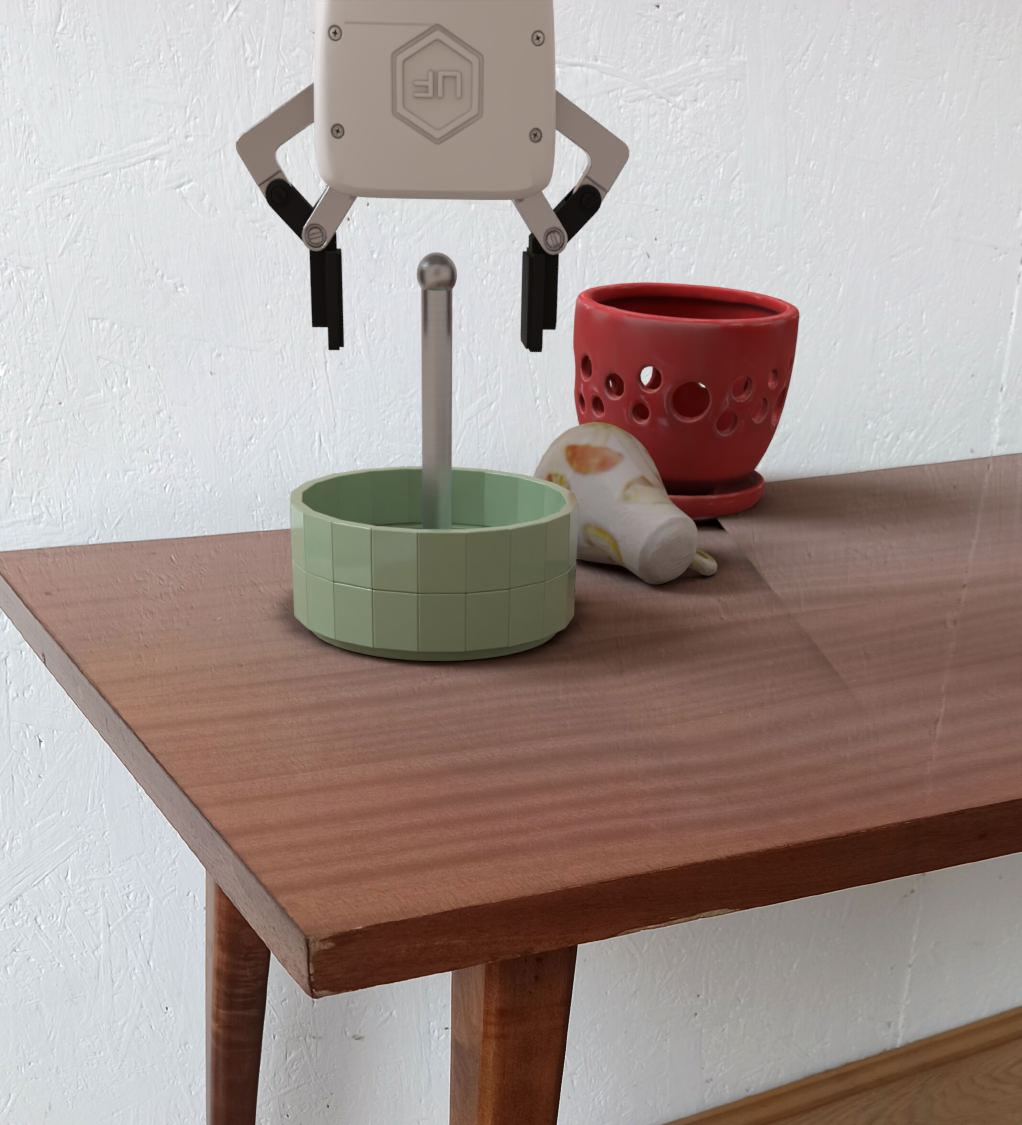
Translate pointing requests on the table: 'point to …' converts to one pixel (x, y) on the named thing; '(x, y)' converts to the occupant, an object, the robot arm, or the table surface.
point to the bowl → (433, 563)
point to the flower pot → (688, 382)
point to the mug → (623, 504)
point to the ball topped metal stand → (436, 388)
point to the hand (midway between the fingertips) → (433, 345)
